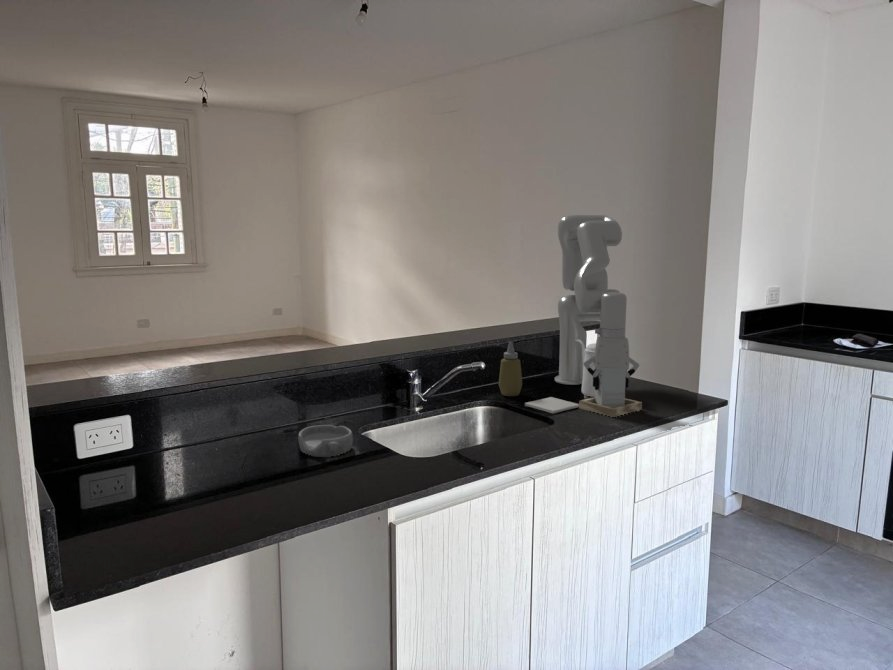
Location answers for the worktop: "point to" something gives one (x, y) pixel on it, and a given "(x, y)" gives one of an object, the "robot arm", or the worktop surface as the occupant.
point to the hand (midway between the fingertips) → (610, 389)
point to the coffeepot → (587, 377)
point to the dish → (325, 440)
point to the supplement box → (611, 387)
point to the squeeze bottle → (510, 373)
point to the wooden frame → (612, 412)
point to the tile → (552, 405)
